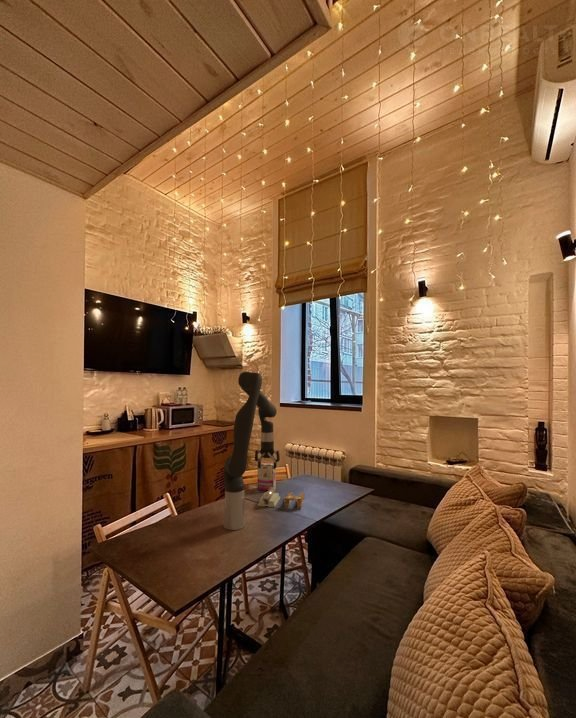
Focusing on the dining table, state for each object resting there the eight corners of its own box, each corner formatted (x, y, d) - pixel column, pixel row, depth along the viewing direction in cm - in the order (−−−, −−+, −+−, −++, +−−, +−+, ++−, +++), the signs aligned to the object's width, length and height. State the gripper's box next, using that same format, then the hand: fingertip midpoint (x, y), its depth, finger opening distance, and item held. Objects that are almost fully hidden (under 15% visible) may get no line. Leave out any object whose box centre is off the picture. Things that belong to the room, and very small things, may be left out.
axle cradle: (257, 506, 184) (257, 500, 185) (263, 497, 198) (263, 492, 198) (275, 507, 183) (275, 501, 183) (280, 498, 196) (280, 493, 197)
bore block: (284, 508, 181) (284, 497, 181) (289, 498, 196) (289, 488, 197) (300, 509, 179) (300, 498, 179) (304, 499, 195) (304, 489, 195)
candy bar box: (276, 488, 214) (275, 463, 215) (273, 491, 209) (273, 465, 210) (260, 487, 217) (260, 462, 218) (257, 489, 212) (257, 464, 214)
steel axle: (270, 501, 183) (269, 494, 183) (263, 502, 184) (262, 494, 184) (275, 493, 197) (274, 486, 197) (268, 493, 198) (268, 486, 198)
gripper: (280, 439, 191) (280, 467, 190) (257, 438, 194) (256, 466, 193) (278, 441, 184) (278, 471, 183) (253, 440, 186) (253, 470, 185)
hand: (267, 468), depth 188 cm, fingers open, 8 cm apart
